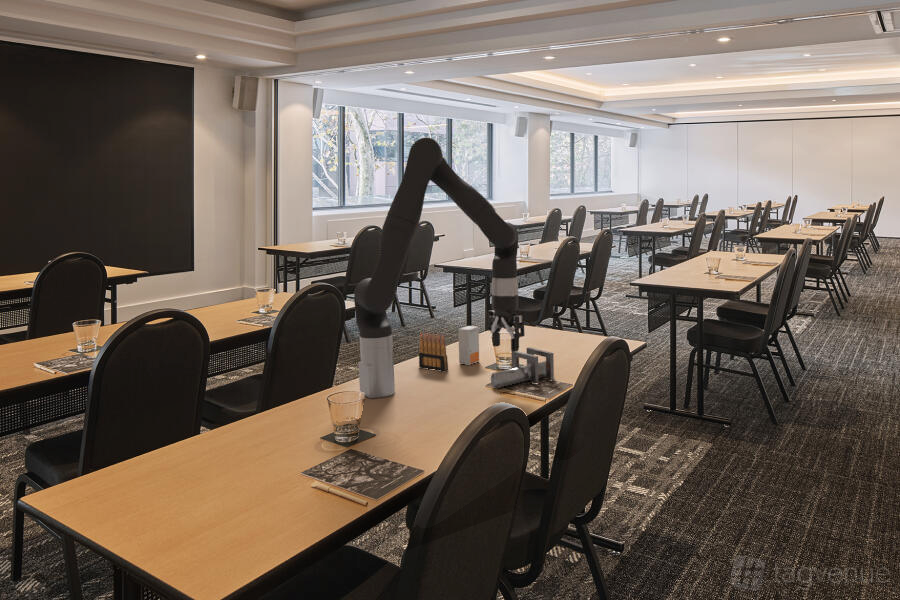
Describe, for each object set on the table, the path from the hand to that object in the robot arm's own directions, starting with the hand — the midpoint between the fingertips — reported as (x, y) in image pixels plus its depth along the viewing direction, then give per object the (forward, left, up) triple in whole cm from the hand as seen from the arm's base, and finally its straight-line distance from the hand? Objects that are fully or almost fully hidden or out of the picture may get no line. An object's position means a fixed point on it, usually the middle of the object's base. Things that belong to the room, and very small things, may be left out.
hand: (505, 348), depth 212 cm
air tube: (+6, 0, -11) cm, 13 cm away
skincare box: (+9, +29, -12) cm, 33 cm away
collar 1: (+8, 0, -11) cm, 14 cm away
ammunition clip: (-4, +31, -12) cm, 34 cm away
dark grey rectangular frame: (+14, 0, -11) cm, 18 cm away
